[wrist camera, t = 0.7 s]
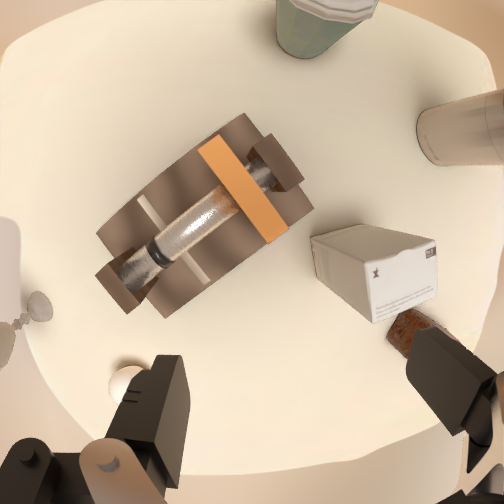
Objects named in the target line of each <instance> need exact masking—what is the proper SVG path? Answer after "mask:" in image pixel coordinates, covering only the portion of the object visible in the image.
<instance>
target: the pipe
mask: <svg viewBox="0 0 504 504" xmlns="http://www.w3.org/2000/svg"><path fill="white" fill-rule="evenodd" d="M244 167H245V169H246V170H247V171H248V173H249V174H250V175H251V177H252V178H253V179H254V181H255V182H256V183H257V185H258V186H259V188H260V189H261V190H262V192H263V193H264V192H266V191H267V190H269V189H270V188H271V187H273V186H274V185H276V184H277V183H278V182H277V179H276V177H275V176H274V174H273V172H272V171H271V170H270V168H269V167H268V166H267V164H266V163H265V162H264V161H263V160H262V159H261V158H260V157H257V158H256V159H254V160H253V161H251V162H250V163H249V164H247V165H246V166H244ZM241 209H242V208H241V207H240V206H239V204H238V203H237V202H236V200H235V199H234V198H233V196H232V195H231V194H230V192H229V191H228V190H227V188H226V187H225V186H224V184H223V183H221V184H220V185H219V186H217V187H216V188H215V189H213V190H212V191H211V192H209V193H208V194H207V195H205V196H204V197H203V198H201V199H200V200H199V201H198V202H196V203H195V204H194V205H193V206H191V207H190V208H189V209H187V210H186V211H185V212H184V213H182V214H181V215H180V216H179V217H177V218H176V219H175V220H174V221H173V222H171V223H170V224H169V225H168V226H166V227H165V228H164V229H163V230H162V231H160V232H159V233H158V234H157V235H154V236H153V237H152V238H151V239H149V240H148V241H147V242H146V243H145V245H144V246H143V247H142V248H140V249H139V250H138V251H137V252H136V253H135V254H134V255H132V256H131V257H130V258H129V259H128V260H127V261H126V262H125V263H123V264H122V265H121V266H120V267H119V268H118V275H119V278H120V279H121V281H122V283H123V284H124V285H125V286H126V287H127V288H128V289H130V290H131V291H134V292H137V291H138V290H139V289H141V288H142V287H143V286H144V285H146V284H147V283H148V282H149V281H150V280H152V279H153V278H154V277H155V276H157V275H158V274H159V273H160V272H161V271H163V270H164V269H167V268H168V267H169V266H171V265H172V264H173V263H174V262H175V260H176V259H178V258H179V257H180V256H182V255H183V254H184V253H185V252H187V251H188V250H189V249H190V248H192V247H193V246H194V245H196V244H197V243H198V242H199V241H201V240H202V239H203V238H205V237H206V236H207V235H208V234H210V233H211V232H212V231H214V230H215V229H216V228H218V227H219V226H220V225H221V224H223V223H224V222H225V221H227V220H228V219H229V218H231V217H232V216H233V215H235V214H236V213H237V212H239V211H240V210H241Z"/></svg>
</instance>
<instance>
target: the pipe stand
mask: <svg viewBox="0 0 504 504" xmlns="http://www.w3.org/2000/svg"><path fill="white" fill-rule="evenodd" d="M218 134H219V135H220V136H221V138H222V139H223V140H224V141H225V143H226V144H227V145H228V147H229V148H230V149H231V150H232V152H233V153H234V154H235V156H236V157H237V158H238V160H239V161H240V162H241V163H242V165H243V166H246V165H247V164H249V163H250V162H251V161H253V160H254V159H256V158H257V157H260V158H261V159H262V160H263V161H264V162H265V163H266V164H267V166H268V167H269V168H270V170H271V171H272V172H273V174H274V176H275V177H276V179H277V182H278V183H277V184H276V185H274V186H273V187H271V188H270V189H269V190H267V191H266V192H264V194H265V196H266V197H267V198H268V200H269V201H270V203H271V204H272V205H273V207H274V208H275V209H276V211H277V212H278V214H279V215H280V216H281V218H282V219H283V221H284V222H285V223H286V225H287V226H288V228H289V227H290V226H291V225H293V224H294V223H295V222H297V221H298V220H299V219H301V218H302V217H303V216H305V215H306V214H307V213H309V212H310V211H311V210H313V209H314V207H313V206H312V204H311V203H310V201H309V200H308V198H307V197H306V195H305V194H304V192H303V191H302V189H301V188H300V187H299V185H298V184H299V183H300V182H302V181H303V180H304V177H303V176H302V175H301V173H300V172H299V170H298V169H297V167H296V166H295V165H294V163H293V162H292V160H291V159H290V158H289V156H288V155H287V154H286V152H285V151H284V149H283V148H282V147H281V145H280V144H279V143H278V141H277V140H276V139H275V137H274V136H273V135H272V134H269V135H268V136H266V137H265V138H264V137H263V136H262V135H261V133H260V132H259V131H258V129H257V128H256V127H255V126H254V124H253V123H252V122H251V120H250V119H249V118H248V117H247V115H246V114H245V113H243V114H241V115H240V116H238V117H237V118H235V119H234V120H232V121H231V122H229V123H228V124H226V125H225V126H224V127H222V128H221V129H219V130H218V131H216V132H215V133H214V134H212V135H211V136H209V137H208V138H207V139H205V140H204V141H202V142H201V143H200V144H198V145H197V146H196V147H194V148H193V149H192V150H190V151H189V152H188V153H186V154H185V155H184V156H183V157H181V158H180V159H179V160H177V161H176V162H175V163H174V164H172V165H171V166H170V167H169V168H167V169H166V170H165V171H164V172H163V173H161V174H160V175H159V176H158V177H157V178H155V179H154V180H153V181H152V182H151V183H149V184H148V185H147V186H146V187H145V188H144V189H142V190H141V191H140V192H139V193H138V194H137V195H136V196H135V197H133V198H132V199H131V200H130V201H129V202H128V203H127V204H126V205H125V206H123V207H122V208H121V209H120V210H119V211H118V212H117V213H116V214H115V215H114V216H113V217H112V218H111V219H110V220H109V221H108V222H107V223H106V224H105V225H104V226H103V227H101V228H100V229H99V230H98V231H97V232H96V234H97V235H98V237H99V238H100V239H101V241H102V242H103V244H104V245H105V246H106V248H107V249H108V250H109V252H110V253H111V254H112V256H113V257H114V258H115V259H113V260H112V261H110V262H109V263H107V264H106V265H105V266H104V267H103V268H102V269H101V270H100V271H99V272H98V273H97V274H96V275H95V276H96V278H97V279H98V280H99V281H100V283H101V284H102V285H103V287H104V288H105V289H106V290H107V291H108V293H109V294H110V295H111V296H112V298H113V299H114V300H115V301H116V302H117V304H118V305H119V306H120V307H121V308H122V309H123V311H124V312H125V313H126V314H129V313H130V312H131V311H132V310H133V309H135V308H136V307H137V306H138V305H140V304H141V302H142V301H143V300H144V298H145V297H146V298H147V299H148V300H149V301H150V302H151V303H152V305H153V306H154V307H155V308H156V309H157V310H158V311H159V313H160V314H161V315H162V316H163V317H164V318H165V319H166V318H167V317H168V316H170V315H171V314H172V313H174V312H175V311H176V310H178V309H179V308H181V307H182V306H183V305H185V304H186V303H187V302H189V301H190V300H191V299H193V298H194V297H195V296H197V295H198V294H199V293H201V292H202V291H204V290H205V289H206V288H208V287H209V286H210V285H212V284H213V283H214V282H216V281H217V280H218V279H220V278H221V277H222V276H224V275H225V274H227V273H228V272H229V271H231V270H232V269H233V268H235V267H236V266H237V265H239V264H240V263H241V262H243V261H244V260H245V259H247V258H248V257H249V256H251V255H252V254H254V253H255V252H256V251H258V250H259V249H260V248H262V247H263V246H264V245H266V244H267V242H266V240H265V239H264V238H263V237H262V235H261V234H260V233H259V231H258V230H257V229H256V228H255V226H254V225H253V223H252V222H251V221H250V219H249V218H248V217H247V215H246V214H245V213H244V211H243V210H242V209H241V210H240V211H239V212H237V213H236V214H235V215H233V216H232V217H231V218H229V219H228V220H227V221H225V222H224V223H223V224H221V225H220V226H219V227H218V228H216V229H215V230H214V231H212V232H211V233H210V234H208V235H207V236H206V237H205V238H203V239H202V240H201V241H199V242H198V243H197V244H196V245H194V246H193V247H192V248H190V249H189V250H188V251H187V252H185V253H184V254H183V255H182V256H180V257H179V258H178V259H176V260H175V262H174V263H173V264H172V265H171V266H169V267H168V268H167V269H164V270H163V271H161V272H160V273H159V274H158V275H157V276H155V277H154V278H153V279H152V280H150V281H149V282H148V283H147V284H146V285H144V286H143V287H142V288H141V289H139V290H138V291H137V292H134V291H131V290H130V289H128V288H127V287H126V286H125V285H124V284H123V283H122V281H121V279H120V278H119V275H118V268H119V267H120V266H121V265H122V264H123V263H125V262H126V261H127V260H128V259H129V258H130V257H131V256H132V255H134V254H135V253H136V252H137V251H138V250H139V249H140V248H142V247H143V246H144V245H145V243H146V242H147V241H148V240H149V239H151V238H152V237H153V236H154V235H157V234H158V233H159V232H160V231H162V230H163V229H164V228H165V227H166V226H168V225H169V224H170V223H171V222H173V221H174V220H175V219H176V218H177V217H179V216H180V215H181V214H182V213H184V212H185V211H186V210H187V209H189V208H190V207H191V206H193V205H194V204H195V203H196V202H198V201H199V200H200V199H201V198H203V197H204V196H205V195H207V194H208V193H209V192H211V191H212V190H213V189H215V188H216V187H217V186H219V185H220V184H221V183H222V182H221V181H220V180H219V178H218V177H217V176H216V174H215V173H214V172H213V171H212V169H211V168H210V167H209V165H208V164H207V163H206V161H205V160H204V159H203V157H202V156H201V154H200V153H199V152H198V149H199V148H200V147H202V146H203V145H205V144H206V143H207V142H209V141H210V140H211V139H213V138H214V137H216V136H217V135H218Z"/></svg>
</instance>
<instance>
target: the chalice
mask: <svg viewBox="0 0 504 504" xmlns="http://www.w3.org/2000/svg"><path fill="white" fill-rule="evenodd" d="M27 311H28V313H27V314H24V313H22V314H21V318H20V319H15V320H14V323H13V324H12V325H10V324H8V323H7V322H0V370H1V369H2V368H3V367H4V366H5V365H6V364H7V363H8V360H9V358H10V355H11V353H12V350H13V346H14V342H15V337H16V335H15V332H14V331H15V330H17V329H21V328H22V325H23V324H28V323H29V319H30V318H32V319H33V320H34V321H37V322H43V321H49V320H50V319H51V318H52V316H53V309H52V305H51V303H50V301H49V299H48V298H47V297H46V296H45V295H44V294H43V293H41V292H38V291H37V292H34V293H33V294H32V295H31V297H30V299H29V301H28V303H27Z"/></svg>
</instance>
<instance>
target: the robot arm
mask: <svg viewBox="0 0 504 504" xmlns="http://www.w3.org/2000/svg"><path fill="white" fill-rule="evenodd" d="M417 135H418V140H419V143H420V146H421V148H422V150H423V152H424V154H425V155H426V156H427V158H428V159H429V160H430V161H431V162H433V163H434V164H436V165H439V166H457V165H458V166H461V165H504V89H500V90H495V91H492V92H488V93H484V94H480V95H476V96H472V97H469V98H465V99H461V100H458V101H454V102H451V103H448V104H444V105H441V106H437V107H434V108H431V109H428V110H425V111H424V112H422V114H421V115H420V116H419V119H418V123H417ZM406 375H407V378H408V380H409V382H410V383H411V384H412V385H413V387H414V388H415V389H416V390H417V392H418V393H419V394H420V395H421V396H422V398H423V399H424V400H425V401H426V403H427V404H428V405H429V407H430V408H431V409H432V410H433V412H434V413H435V414H436V415H437V417H438V418H439V419H440V421H441V422H442V423H443V424H444V426H445V427H446V428H447V430H448V431H449V432H450V434H451V435H452V436H454V435H456V434H458V433H460V432H462V431H463V430H466V432H467V433H466V434H465V436H464V438H463V448H462V460H461V468H460V476H459V481H458V484H457V486H456V488H455V489H454V491H453V493H452V495H451V496H449V497H447V498H446V499H444V500H442V501H440V502H438V503H437V504H504V371H503V372H501V373H499V374H497V373H496V372H494V371H493V370H492V369H491V368H490V367H488V366H487V365H486V364H485V363H484V362H483V361H482V360H480V359H479V358H478V357H477V356H475V355H473V353H472V352H471V351H469V350H468V349H467V350H466V347H464V346H463V345H462V344H461V343H460V342H458V341H457V340H454V339H452V338H450V337H449V336H448V335H447V334H445V333H444V332H443V331H442V330H440V329H439V328H438V327H436V326H433V327H429V328H424V329H420V330H417V331H416V332H415V334H414V337H413V341H412V345H411V349H410V353H409V357H408V361H407V364H406ZM189 412H190V392H189V387H188V383H187V378H186V373H185V368H184V363H183V359H182V357H181V355H157V356H156V358H155V360H154V363H153V365H152V368H151V370H144V369H142V370H141V371H140V372H139V373H138V374H136V375H135V376H134V377H133V378H132V379H131V381H130V383H129V385H128V387H127V389H126V392H125V394H124V396H123V398H122V402H120V404H119V407H118V409H117V411H116V413H115V415H114V418H113V420H112V422H111V424H110V427H109V429H108V431H107V433H106V436H105V438H102V439H98V440H95V441H93V442H91V443H89V444H88V445H87V446H86V447H85V448H84V449H83V450H82V452H81V453H52V452H51V450H50V449H49V448H48V446H47V445H46V444H45V443H44V442H43V441H41V440H39V439H36V438H25V439H22V440H19V441H18V442H16V443H15V444H14V445H13V446H12V448H11V449H10V451H9V452H8V454H7V456H6V458H5V460H4V462H3V463H2V465H1V467H0V504H167V502H166V501H165V500H164V496H165V491H166V488H175V489H178V484H179V477H180V470H181V463H182V456H183V450H184V443H185V437H186V431H187V424H188V418H189ZM502 493H503V495H502Z"/></svg>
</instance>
